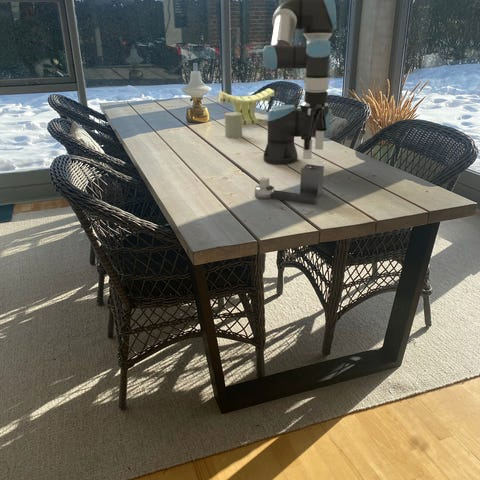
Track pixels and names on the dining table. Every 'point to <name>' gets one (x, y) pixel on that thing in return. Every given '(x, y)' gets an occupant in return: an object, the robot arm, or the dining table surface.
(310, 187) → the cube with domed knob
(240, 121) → the can
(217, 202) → the dining table surface
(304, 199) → the ratchet
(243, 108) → the slatted curved stool
